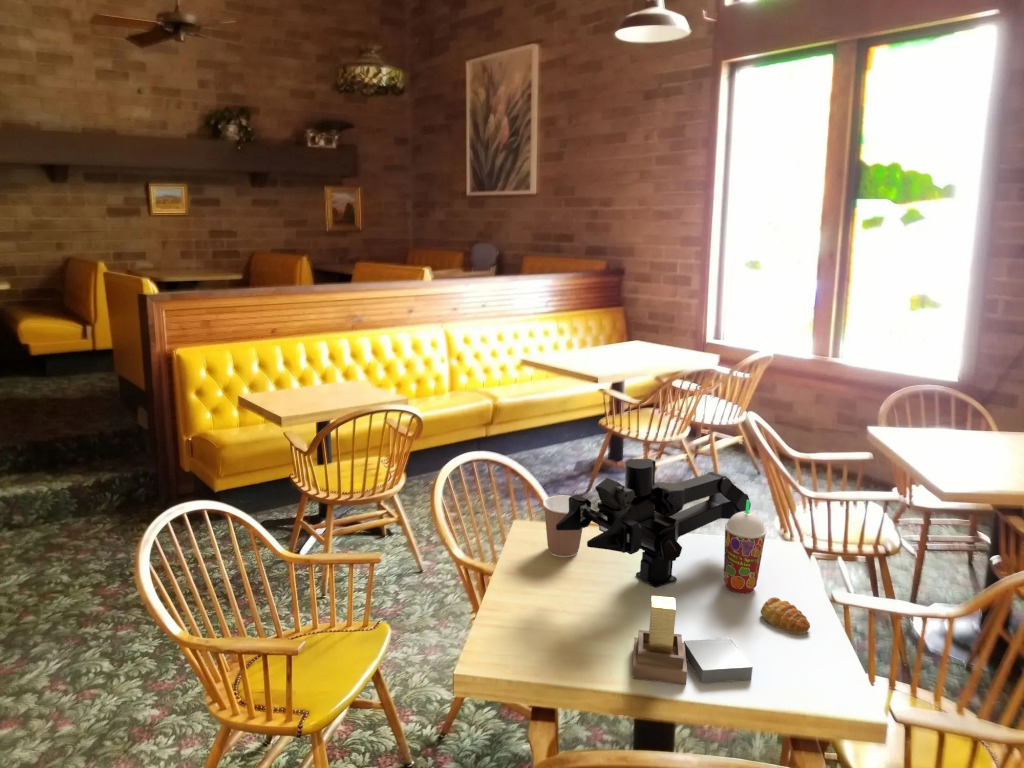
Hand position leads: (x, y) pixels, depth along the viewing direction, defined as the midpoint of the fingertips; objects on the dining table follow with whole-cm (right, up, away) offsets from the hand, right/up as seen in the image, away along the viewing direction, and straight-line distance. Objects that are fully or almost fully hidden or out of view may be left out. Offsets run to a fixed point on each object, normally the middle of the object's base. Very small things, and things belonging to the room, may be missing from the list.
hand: (571, 535), depth 148 cm
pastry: (+42, -18, +3) cm, 46 cm away
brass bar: (+14, -18, -14) cm, 27 cm away
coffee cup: (0, -10, +31) cm, 32 cm away
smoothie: (+37, -14, +16) cm, 43 cm away
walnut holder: (+14, -21, -13) cm, 28 cm away
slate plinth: (+25, -21, -13) cm, 35 cm away
